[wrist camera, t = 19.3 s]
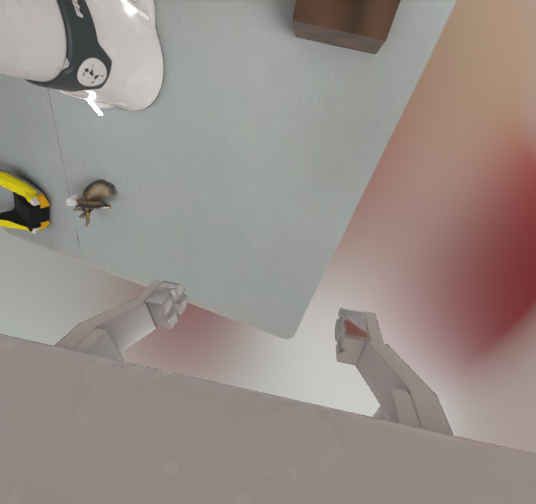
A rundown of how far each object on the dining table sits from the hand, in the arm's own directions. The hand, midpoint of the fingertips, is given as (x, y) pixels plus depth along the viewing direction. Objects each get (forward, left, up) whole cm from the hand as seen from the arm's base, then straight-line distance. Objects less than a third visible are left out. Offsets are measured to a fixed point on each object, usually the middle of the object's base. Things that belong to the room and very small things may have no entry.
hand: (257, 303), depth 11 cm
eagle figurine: (-26, -35, -32) cm, 54 cm away
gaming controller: (-39, -52, -32) cm, 72 cm away
